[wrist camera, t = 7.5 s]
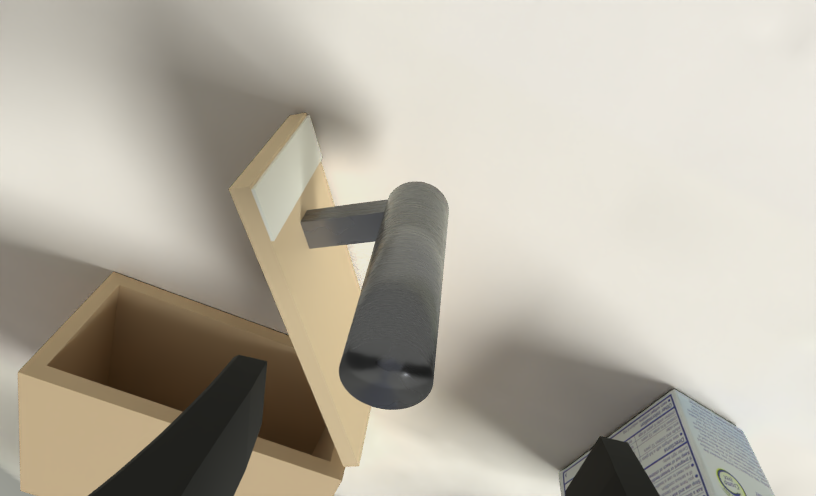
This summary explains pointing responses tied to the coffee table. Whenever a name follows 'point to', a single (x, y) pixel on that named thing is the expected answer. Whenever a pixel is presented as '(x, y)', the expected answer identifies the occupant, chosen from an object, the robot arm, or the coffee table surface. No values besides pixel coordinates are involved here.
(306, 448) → the carton
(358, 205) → the wooden box lid
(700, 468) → the medicine box
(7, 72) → the coffee table surface
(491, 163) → the coffee table surface
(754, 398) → the coffee table surface
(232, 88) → the coffee table surface
